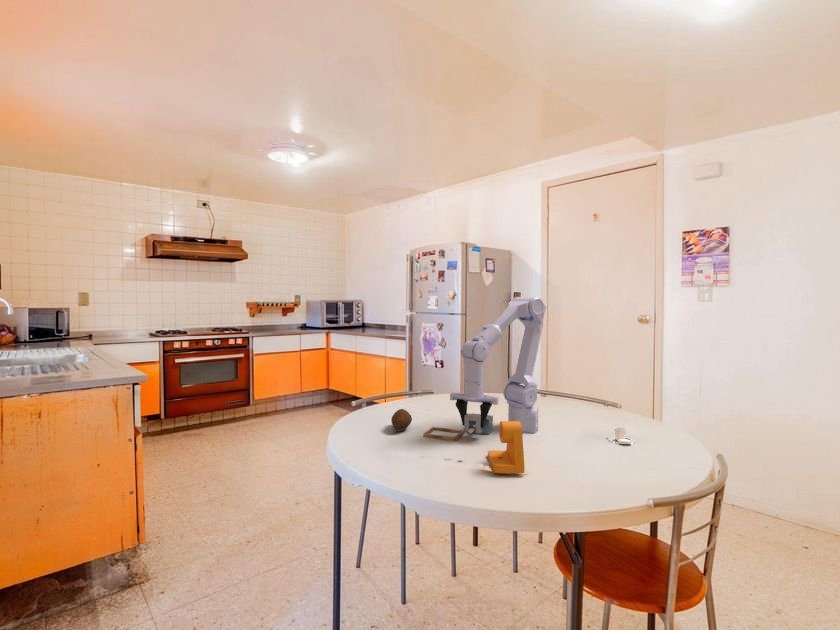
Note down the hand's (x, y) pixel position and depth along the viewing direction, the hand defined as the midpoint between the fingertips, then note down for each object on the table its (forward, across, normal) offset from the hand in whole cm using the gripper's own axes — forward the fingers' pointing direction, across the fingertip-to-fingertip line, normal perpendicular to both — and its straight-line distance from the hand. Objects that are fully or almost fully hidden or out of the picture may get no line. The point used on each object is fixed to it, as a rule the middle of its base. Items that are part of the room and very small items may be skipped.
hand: (473, 425), depth 131 cm
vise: (+5, 0, +3) cm, 6 cm away
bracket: (+5, +13, -16) cm, 22 cm away
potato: (+5, -25, +2) cm, 26 cm away
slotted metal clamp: (+2, 0, 0) cm, 2 cm away
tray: (+5, -9, -1) cm, 10 cm away
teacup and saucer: (+6, +39, +18) cm, 43 cm away
